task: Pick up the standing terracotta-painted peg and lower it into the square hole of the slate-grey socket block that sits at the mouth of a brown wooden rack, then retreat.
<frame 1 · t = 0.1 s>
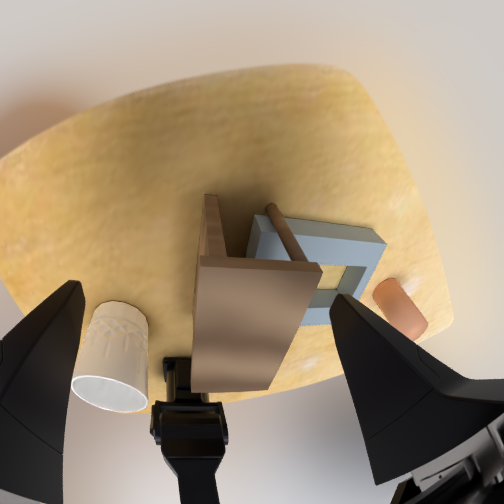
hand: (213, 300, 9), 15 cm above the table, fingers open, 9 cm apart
brown wooden rack: (234, 300, 22), on the table
peg: (385, 289, 33), on the table
white cup: (121, 319, 28), on the table
socket block: (324, 269, 29), on the table
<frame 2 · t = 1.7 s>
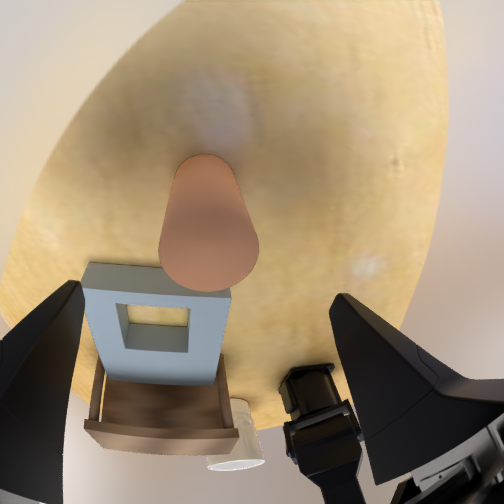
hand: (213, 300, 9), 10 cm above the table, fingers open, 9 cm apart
brown wooden rack: (161, 405, 24), on the table
peg: (204, 183, 17), on the table
white cup: (226, 405, 36), on the table
socket block: (156, 304, 22), on the table
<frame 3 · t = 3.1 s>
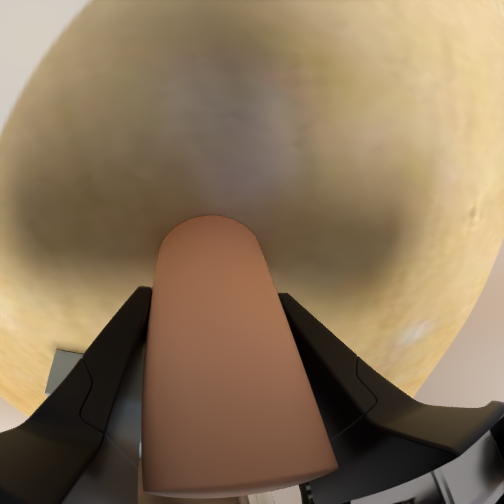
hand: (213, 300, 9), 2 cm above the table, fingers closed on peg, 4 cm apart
brown wooden rack: (165, 480, 17), on the table
peg: (210, 262, 10), on the table, touching gripper
white cup: (234, 455, 29), on the table
socket block: (151, 392, 15), on the table
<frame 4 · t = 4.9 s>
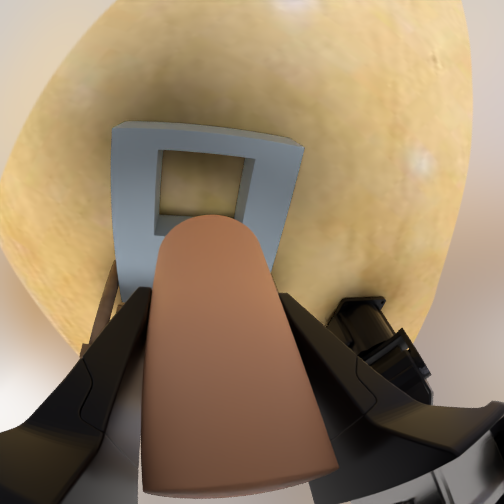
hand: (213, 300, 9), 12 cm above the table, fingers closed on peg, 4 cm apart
brown wooden rack: (191, 337, 20), on the table
peg: (210, 262, 10), point 10 cm above the table, touching gripper
socket block: (200, 181, 18), on the table
when the fingers open (3 cm above the table, at t = 6.6 s): peg stays where it is, resting in socket block.
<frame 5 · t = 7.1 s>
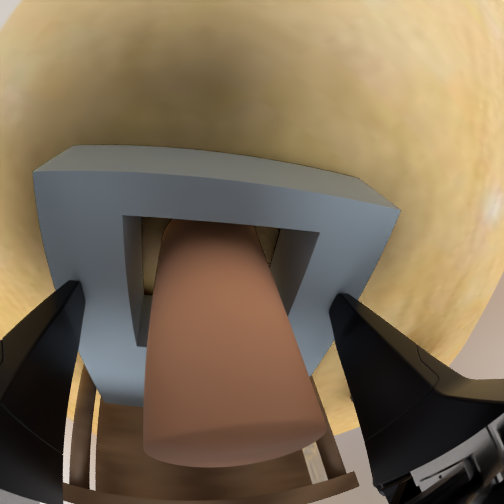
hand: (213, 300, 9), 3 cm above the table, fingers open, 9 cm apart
brown wooden rack: (201, 445, 13), on the table
peg: (209, 248, 11), resting in socket block
white cup: (275, 423, 25), on the table
socket block: (209, 248, 11), on the table
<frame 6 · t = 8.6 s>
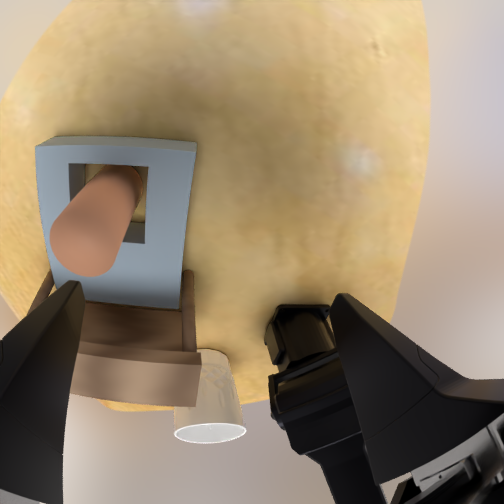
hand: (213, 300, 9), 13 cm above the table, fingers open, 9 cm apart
brown wooden rack: (113, 331, 20), on the table
peg: (117, 187, 18), resting in socket block
white cup: (202, 361, 32), on the table
socket block: (117, 188, 18), on the table
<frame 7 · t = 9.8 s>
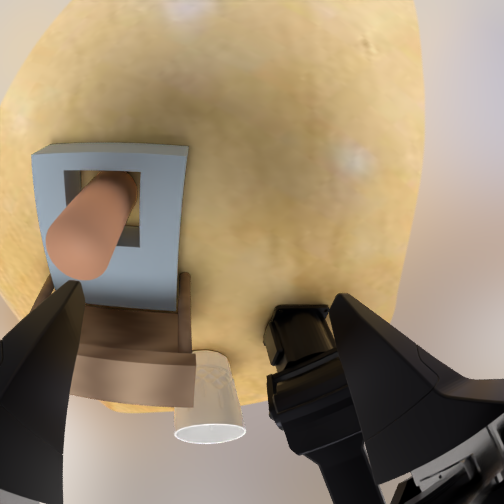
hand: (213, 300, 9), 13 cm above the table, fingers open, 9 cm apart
brown wooden rack: (112, 334, 20), on the table
peg: (113, 192, 19), resting in socket block
white cup: (202, 362, 33), on the table
socket block: (112, 193, 19), on the table
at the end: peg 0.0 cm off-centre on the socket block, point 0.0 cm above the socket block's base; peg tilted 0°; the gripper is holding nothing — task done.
